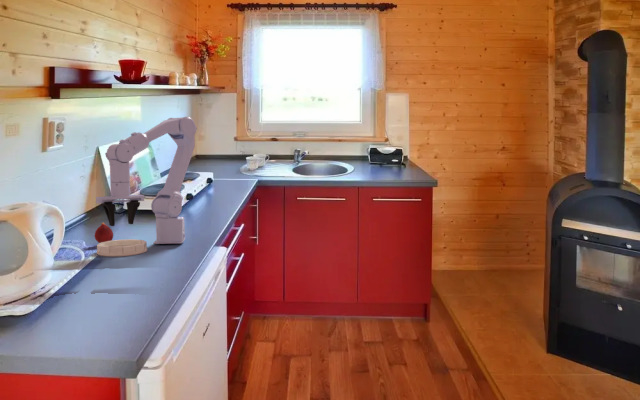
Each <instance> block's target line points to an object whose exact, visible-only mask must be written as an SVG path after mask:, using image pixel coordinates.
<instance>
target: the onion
mask: <svg viewBox="0 0 640 400" xmlns="http://www.w3.org/2000/svg"><path fill="white" fill-rule="evenodd" d="M94 239H95V240H96V242H97V243H98V244H99V243H101V242H106V241H113V239H114V232H113V230H112V228H111V227H109V225H107V224H105V223H104V222H101V225H100V226H99V227H98V228H96V229H95V232H94Z"/></svg>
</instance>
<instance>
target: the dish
mask: <svg viewBox="0 0 640 400" xmlns="http://www.w3.org/2000/svg"><path fill="white" fill-rule="evenodd" d="M146 252H148V247H147V241H146V240H142V239H115V240H113V239H112V240H111V241H106V242H101V243H99V242H98V244H97V245H96V255H97V254H98V255H97V256H101V257H109V258H110V257H112V258H113V257H114V258H115V257H127V256H128V257H131V256H135V255H141V254H144V253H146Z"/></svg>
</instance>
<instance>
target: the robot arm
mask: <svg viewBox="0 0 640 400" xmlns="http://www.w3.org/2000/svg"><path fill="white" fill-rule="evenodd" d="M197 129H198V128H197V125H196V123H195V121H194V119H193V118H191V117H190V116H184V117H169V118H168V119H165V120H162V122H160V123H158V124H157V125H155V126H154V127H151V128H150V129H148V130H147V131H145V132H140V131H139V132H132V133H130V136H129V137H127V138H125V139H120V140H119V142H118V143H116V144H113V143H112V144H111V145H109V146H108V147H107V149H106V152H105V153H104V154H105V157H106V159H107V160H108V163H109V164H108V165H109V179H110V182H109V183H110V195H108V196H107V195H106V196H96V197H95V203H96V204H98V205H99V204H100V205H101V208H102V209H103V211H104V212H105V215H106V217H107V220H108V223H109V224H108V225H109V226H111V227H115V224H116V222H115V220H116V219H115V212H116V211H115V210H116V204H114V203H125V204H126V208H127V222H128V224H129V225H134V223H135V221H134V220H135V216H136V214H137V211H138V209H139V208H140V205H141V202H145V194H131V178H130V177H131V176H130V173H131V172H130V170H131V169H130V162H131V161H132V160H133V157H134V156H136V155H137V154H139V153H141V152H143V151H145V150H146V149H148V148H149V145H150V143H151V142H153V141H154V140H157V139H158V138H160V137H162V136H164V135H167V134H168V136H169V137H170V138H171V139H172V140H173V141H174V143H175V145H176V146H177V148H176V150H175V154H174V157H173V160H172V162H171V165H170V168H169V171H168V174H167V178H166V180H165V183H164V186H163V188H162V189H160V190H159V191H158V192H157V194H156V196H155V197H154V198H153V200H152V201H151V206H150V208H151V211H152V212H153V213H154V216H155V233H156V236H155V237H156V238H155V239H156V240H155V241H154V242H153V244H155V245H160V244H161V245H162V244H163V245H164V244H165V245H166V244H170V245H171V244H183V243H184V241H185V240H186V233H185V232H186V231H185V230H186V229H185V227H186V225H185V217H183V216H179V215H181V212H182V210H183V205H182V204H183V199H184V197H183V196H182V194H181V189H182V186H183V182H184V179H185V177H186V174H187V171H188V168H189V164H190V162H191V158H192V155H193V153H194V149H195V145H196V143H195V142H196V137H195V136H196V133H197Z"/></svg>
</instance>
